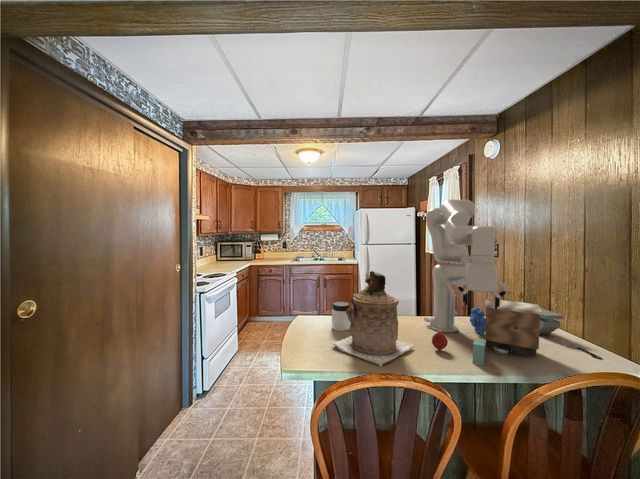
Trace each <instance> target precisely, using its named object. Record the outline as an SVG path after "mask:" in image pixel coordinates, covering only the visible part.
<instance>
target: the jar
mask: <svg viewBox="0 0 640 479" xmlns="http://www.w3.org/2000/svg"><path fill="white" fill-rule="evenodd" d="M347 309H351V306H350V303H349V302H346V301H335V302H333V303H332V307H331V328H332V330H334V331H338V332H345V331H349V329H350V321H349V319H348V316H347V314H346V310H347Z"/></svg>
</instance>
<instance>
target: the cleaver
mask: <svg viewBox="0 0 640 479" xmlns="http://www.w3.org/2000/svg"><path fill="white" fill-rule="evenodd" d="M566 348H567V349H577V350H578V351H581V352H583V353H585V354H587V355H589V356H591V358H593V359H596V360H601V361H602V360H604V358H603V357H601V356H599V355H597V354H595V353H593V352H590V351H589V350H587V349H584V348H582V347H579V346H577V345H576V344H575V343H574V344H573V343H572V342H570V343H569V344H568V345H567V347H566Z"/></svg>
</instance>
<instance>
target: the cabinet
mask: <svg viewBox="0 0 640 479" xmlns="http://www.w3.org/2000/svg"><path fill="white" fill-rule="evenodd" d="M521 302H522V301H511V300H503V299H500V307H497V309H495V298H494V299H493V298H485V302H484V308H485V318H486V324H485V325H486V327H485V333H484V340H485V348H490V349H494V345H502V346H506V347H508V348H509V351H510V352H511V353H514V354H519V355H525V356H531V357H537V351H538V350H539V348H540V334H539V328H540V315H542V311H541V309H540V308H541V307H540V306H539V304H535V303H530V302H529V303H528V302H524V303H521Z"/></svg>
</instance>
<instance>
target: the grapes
mask: <svg viewBox="0 0 640 479" xmlns="http://www.w3.org/2000/svg"><path fill="white" fill-rule="evenodd" d="M470 313H471V314H469V322H470V325H471V326H472V327H474V332H475V333H477V334H480V335H482V336H483V335H485V327H486V312H484V311H483V310H481V308H480V307H478V306H475V307H474V308H471V310H470Z"/></svg>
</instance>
